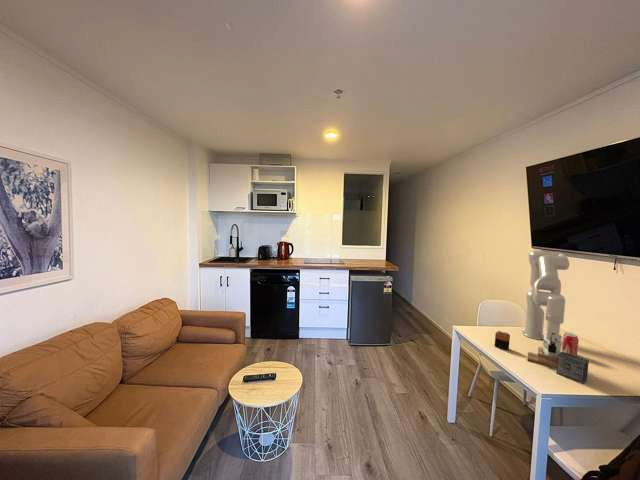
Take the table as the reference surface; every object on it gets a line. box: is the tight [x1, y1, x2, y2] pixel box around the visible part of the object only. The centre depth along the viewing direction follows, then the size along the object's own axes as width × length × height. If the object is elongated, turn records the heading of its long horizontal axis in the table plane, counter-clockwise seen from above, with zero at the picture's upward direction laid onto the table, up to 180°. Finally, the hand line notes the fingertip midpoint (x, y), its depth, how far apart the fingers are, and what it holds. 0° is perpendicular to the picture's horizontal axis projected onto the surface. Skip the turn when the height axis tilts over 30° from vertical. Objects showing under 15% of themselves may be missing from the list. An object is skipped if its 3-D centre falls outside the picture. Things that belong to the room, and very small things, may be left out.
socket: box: [527, 346, 562, 370], centre depth 150 cm, size 11×20×6 cm, turn 51°
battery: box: [494, 330, 511, 351], centre depth 167 cm, size 4×7×10 cm, turn 42°
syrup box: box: [542, 330, 563, 357], centre depth 149 cm, size 6×6×14 cm
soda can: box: [561, 332, 580, 356], centre depth 161 cm, size 7×7×12 cm
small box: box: [555, 351, 590, 384], centre depth 136 cm, size 11×6×10 cm, turn 33°
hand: (551, 349), depth 149 cm, fingers closed on syrup box, 7 cm apart
